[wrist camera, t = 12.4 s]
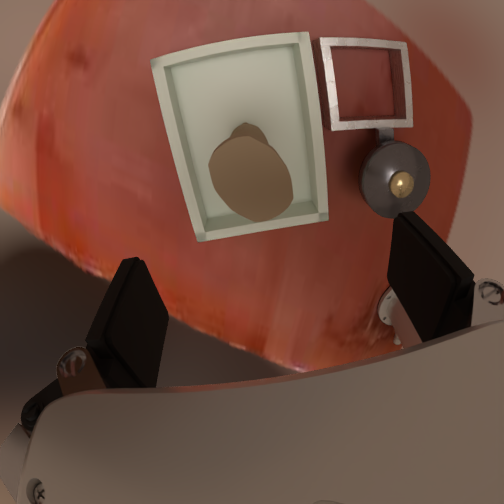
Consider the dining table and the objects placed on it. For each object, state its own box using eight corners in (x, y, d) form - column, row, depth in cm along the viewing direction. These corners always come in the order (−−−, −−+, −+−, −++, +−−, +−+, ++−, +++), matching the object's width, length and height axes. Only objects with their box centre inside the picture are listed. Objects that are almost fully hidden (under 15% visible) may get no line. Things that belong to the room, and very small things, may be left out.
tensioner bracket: (400, 190, 37) (429, 216, 30) (329, 199, 37) (350, 229, 31) (394, 43, 25) (430, 40, 18) (312, 40, 26) (334, 30, 19)
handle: (248, 101, 29) (254, 122, 17) (279, 145, 32) (306, 198, 20) (213, 125, 30) (193, 165, 18) (246, 167, 33) (250, 232, 21)
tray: (319, 204, 38) (328, 220, 34) (201, 224, 38) (197, 242, 35) (299, 37, 26) (308, 31, 22) (160, 62, 26) (149, 59, 23)
